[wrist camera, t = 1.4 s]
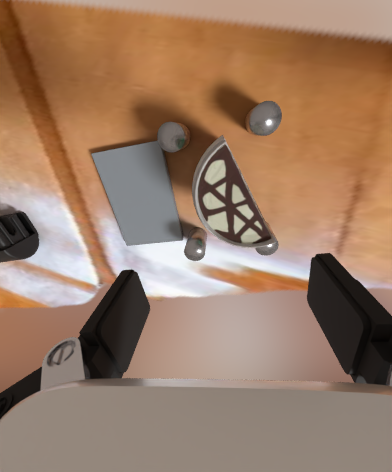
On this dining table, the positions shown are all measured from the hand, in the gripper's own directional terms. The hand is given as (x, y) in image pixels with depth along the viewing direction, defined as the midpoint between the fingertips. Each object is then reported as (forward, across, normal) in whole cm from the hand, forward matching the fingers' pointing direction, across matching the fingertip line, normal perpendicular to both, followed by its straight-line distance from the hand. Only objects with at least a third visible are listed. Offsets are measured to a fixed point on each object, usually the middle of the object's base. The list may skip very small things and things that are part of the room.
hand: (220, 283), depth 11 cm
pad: (+20, +12, 0) cm, 24 cm away
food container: (+20, -1, 0) cm, 21 cm away
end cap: (+21, +38, +3) cm, 44 cm away
